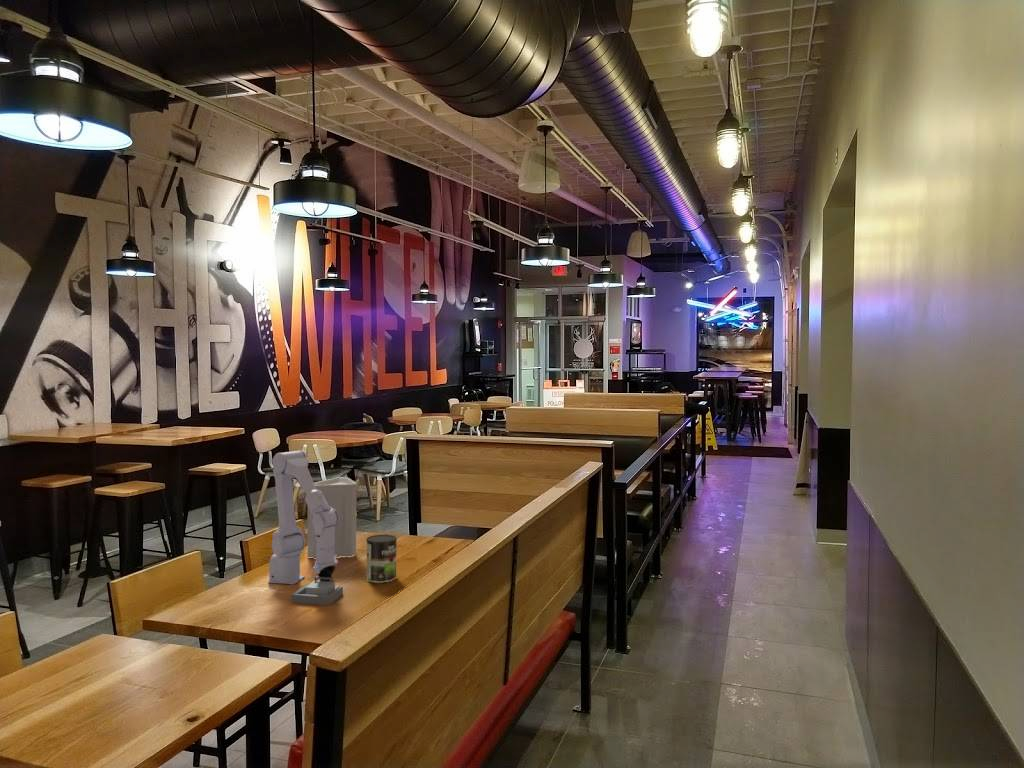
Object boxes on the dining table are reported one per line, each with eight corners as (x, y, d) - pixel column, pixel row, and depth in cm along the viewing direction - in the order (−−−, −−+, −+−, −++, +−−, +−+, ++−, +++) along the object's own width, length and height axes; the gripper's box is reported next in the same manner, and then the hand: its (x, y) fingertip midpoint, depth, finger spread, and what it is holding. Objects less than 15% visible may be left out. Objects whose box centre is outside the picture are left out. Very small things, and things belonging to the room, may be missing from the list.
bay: (291, 602, 213) (291, 594, 213) (306, 591, 223) (306, 584, 223) (329, 605, 211) (329, 597, 211) (342, 594, 221) (342, 586, 221)
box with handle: (306, 599, 217) (305, 583, 216) (314, 591, 223) (314, 576, 222) (327, 600, 216) (327, 584, 215) (335, 593, 222) (334, 577, 221)
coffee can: (402, 578, 239) (403, 537, 238) (380, 585, 230) (380, 543, 230) (382, 572, 245) (382, 532, 244) (359, 579, 237) (360, 538, 236)
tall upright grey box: (338, 563, 254) (338, 487, 253) (306, 558, 261) (306, 484, 260) (369, 550, 272) (369, 479, 271) (338, 545, 278) (339, 476, 277)
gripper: (327, 554, 214) (327, 597, 215) (345, 542, 229) (345, 582, 229) (306, 553, 215) (306, 596, 216) (325, 541, 230) (325, 581, 230)
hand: (325, 589), depth 223 cm, fingers closed
